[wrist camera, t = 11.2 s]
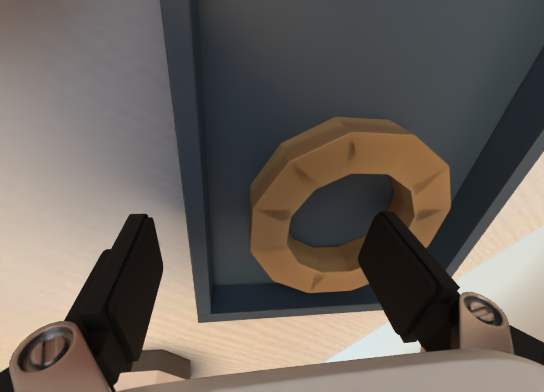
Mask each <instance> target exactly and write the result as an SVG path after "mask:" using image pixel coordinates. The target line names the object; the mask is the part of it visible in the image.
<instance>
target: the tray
mask: <svg viewBox="0 0 544 392" xmlns="http://www.w3.org/2000/svg"><path fill="white" fill-rule="evenodd" d="M160 5H161V13H162V22H163V30H164V38H165V47H166V55H167V64H168V72H169V80H170V89H171V97H172V105H173V114H174V122H175V130H176V139H177V147H178V156H179V164H180V172H181V181H182V189H183V197H184V206H185V214H186V223H187V231H188V239H189V248H190V256H191V264H192V273H193V281H194V289H195V298H196V306H197V314H198V322H199V323H203V322H218V321H232V320H246V319H261V318H275V317H290V316H304V315H318V314H333V313H347V312H362V311H376V310H383V308H382V307H381V305H380V303H379V301H378V299H377V297H376V295H375V293H374V292H373V290H372V288H371V286H370V284H367V285H364V286H362V287H359V288H357V289H354V290H351V291H350V290H349V291H335V292H318V293H307V292H304V291H301V290H298V289H295V288H292V287H290V286H287V285H284V284H281V283H278V282H275V281H273V280H272V279H271V278H270V276H269V275H268V274H267V273H266V271H265V270H264V269H263V267H262V266H261V265H260V263H259V262H258V261H257V260H256V258H255V257H254V256H253V254H252V253H251V252H250V246H249V232H248V215H249V195H250V185H251V183H252V182H253V181H254V179H255V178H256V177H257V175H258V174H259V172H260V171H261V170H262V168H263V167H264V166H265V164H266V163H267V161H268V160H269V159H270V157H271V156H272V155H273V153H274V152H275V151H276V149H277V148H278V146H279V145H280V144H281V143H282V142H284V141H286V140H288V139H291V138H293V137H295V136H297V135H299V134H301V133H303V132H305V131H307V130H309V129H311V128H313V127H315V126H317V125H319V124H321V123H323V122H325V121H327V120H329V119H332V118H334V117H351V118H368V119H386V120H391V121H392V122H394V123H396V124H397V125H399V126H401V127H403V128H404V129H406V130H408V131H409V132H411V133H413V134H414V135H416V136H417V137H418V138H419V139H420V140H421V141H422V142H423V143H425V144H426V145H427V146H428V147H429V148H430V149H431V150H432V151H433V152H435V153H436V154H437V155H438V156H439V157H440V158H441V159H442V160H444V161H445V162H446V163H447V164H448V165H449V167H450V193H451V208H450V210H449V212H448V214H447V215H446V217H445V219H444V220H443V222H442V224H441V226H440V227H439V229H438V231H437V232H436V234H435V236H434V237H433V239H432V241H431V242H430V244H429V246H428V247H427V248H426V249H427V250H428V251H429V253H430V254H431V255H432V256H433V257H434V258H435V259H436V261H437V262H438V263H439V264H440V265H441V266H442V267H443V269H444V270H445V271H446V272H447V273H448V274H449V275H450V277H452V276H453V274H454V273H455V272H456V270H457V269H458V268H459V266H460V265H461V264H462V262H463V261H464V259H465V258H466V257H467V255H468V254H469V253H470V251H471V250H472V249H473V247H474V246H475V244H476V243H477V242H478V240H479V239H480V238H481V236H482V235H483V234H484V232H485V231H486V229H487V228H488V227H489V225H490V224H491V223H492V221H493V220H494V218H495V217H496V216H497V214H498V213H499V212H500V210H501V209H502V208H503V206H504V205H505V203H506V202H507V201H508V199H509V198H510V197H511V195H512V194H513V193H514V191H515V190H516V188H517V187H518V186H519V184H520V183H521V182H522V180H523V179H524V177H525V176H526V175H527V173H528V172H529V171H530V169H531V168H532V167H533V165H534V164H535V162H536V161H537V160H538V158H539V157H540V156H541V154H542V153H543V152H544V0H160ZM393 196H394V192H393V187H392V183H391V178H390V176H389V175H388V174H349V175H347V176H345V177H343V178H340V179H338V180H336V181H334V182H331V183H329V184H327V185H325V186H323V187H320V188H318V189H316V190H314V192H313V193H312V194H311V195H310V196H309V197H308V198H307V200H306V201H305V202H304V203H303V204H302V205H301V206H300V208H299V209H298V210H297V211H296V212H295V213H294V214H293V216H292V217H291V221H290V227H289V234H290V236H291V237H292V238H293V239H295V240H297V241H300V242H302V243H304V244H306V245H308V246H311V247H313V248H314V247H339V246H341V245H343V244H346V243H348V242H351V241H353V240H356V239H358V238H361V237H363V236H365V235H366V234H367V233H368V230H369V228H370V225H371V223H372V220H373V218H374V216H375V215H377V214H378V213H379V212H381V211H387V210H388V207H389V205H390V203H391V200H392V198H393Z"/></svg>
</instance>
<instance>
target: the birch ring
mask: <svg viewBox="0 0 544 392" xmlns="http://www.w3.org/2000/svg"><path fill="white" fill-rule="evenodd" d="M349 174H388V175H389V176H390V178H391V183H392V187H393V192H394V196H393V198H392V200H391V203H390V205H389V207H388V210H387V211H392V212H394V213H396V215H397V216H398V217H399V218H400V219H401V220H402V221H403V223H404V224H405V225H406V226H407V227H408V228H409V230H410V231H411V232H412V233H413V234H414V235H415V236H416V238H417V239H418V240H419V241H420V242H421V243H422V244H423V246H424V247H425V248H427V247H428V246H429V244H430V242H431V241H432V239H433V237H434V236H435V234H436V232H437V231H438V229H439V227H440V226H441V224H442V222H443V220H444V219H445V217H446V215H447V214H448V212H449V210H450V208H451V193H450V167H449V165H448V164H447V163H446V162H445V161H444V160H442V159H441V158H440V157H439V156H438V155H437V154H436V153H435V152H433V151H432V150H431V149H430V148H429V147H428V146H427V145H426V144H425V143H423V142H422V141H421V140H420V139H419V138H418V137H417V136H416V135H414V134H413V133H411V132H409V131H408V130H406V129H404V128H403V127H401V126H399V125H397V124H396V123H394V122H392V121H391V120H386V119H368V118H351V117H334V118H332V119H329V120H327V121H325V122H323V123H321V124H319V125H317V126H315V127H313V128H311V129H309V130H307V131H305V132H303V133H301V134H299V135H297V136H295V137H293V138H291V139H288V140H286V141H284V142H282V143H281V144H280V145H279V146H278V148H277V149H276V151H275V152H274V153H273V155H272V156H271V157H270V159H269V160H268V161H267V163H266V164H265V166H264V167H263V168H262V170H261V171H260V172H259V174H258V175H257V177H256V178H255V179H254V181H253V182H252V183H251V185H250V195H249V215H248V232H249V246H250V252H251V253H252V254H253V256H254V257H255V258H256V260H257V261H258V262H259V263H260V265H261V266H262V267H263V269H264V270H265V271H266V273H267V274H268V275H269V276H270V278H271V279H272V280H273V281H275V282H278V283H281V284H284V285H287V286H290V287H292V288H295V289H298V290H301V291H304V292H307V293H318V292H335V291H349V290H350V291H351V290H354V289H357V288H359V287H362V286H364V285H367V284H369V282H368V280H367V278H366V277H365V275H364V273H363V271H362V269H361V267H360V265H359V263H358V255H359V252H360V250H361V248H362V245H363V243H364V240H365V238H366V235H367V234H366V235H365V236H363V237H361V238H358V239H356V240H353V241H351V242H348V243H346V244H343V245H341V246H339V247H314V248H313V247H311V246H308V245H306V244H304V243H302V242H300V241H297V240H295V239H293V238H292V237H291V236H290V234H289V227H290V221H291V217H292V216H293V214H294V213H295V212H296V211H297V210H298V209H299V208H300V206H301V205H302V204H303V203H304V202H305V201H306V200H307V198H308V197H309V196H310V195H311V194H312V193H313V192H314V190H316V189H318V188H320V187H323V186H325V185H327V184H329V183H331V182H334V181H336V180H338V179H340V178H343V177H345V176H347V175H349Z"/></svg>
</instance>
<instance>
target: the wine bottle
mask: <svg viewBox="0 0 544 392" xmlns="http://www.w3.org/2000/svg"><path fill="white" fill-rule="evenodd" d="M188 379H190V363H189V360H186V359H184V358H181V357H179V356H176V355H173V354H171V353H168V352H166V351H163V350H156V351H142V352H141V355H140V358H139V360H138V361H135V362H133V365H132V369H131V372H127V373H120V376H119V379H118V382H117V383H116V384H115V385H114V388H115V390H116V392H117V391H121V390H125V389H130V388H136V387H141V386H146V385H152V384H159V383H166V382H174V381H181V380H188Z"/></svg>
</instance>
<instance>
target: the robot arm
mask: <svg viewBox="0 0 544 392" xmlns="http://www.w3.org/2000/svg"><path fill="white" fill-rule="evenodd" d="M358 263H359V265H360V267H361V269H362V271H363V273H364V275H365V277H366V278H367V280H368V282H369V284H370V286H371V288H372V290H373V292H374V293H375V295H376V297H377V299H378V301H379V303H380V305H381V307H382V308H383V310H384V312H385V314H386V316H387V318H388V320H389V322H390V323H391V325H392V327H393V329H394V331H395V332H396V333H397V334H398V335H400V337H401V338H402V340H403V342H404V343H408V342H416V341H417V340H418V341H419V343H420V344H421V351H420V353H413V354H402V355H393V356H384V357H375V358H366V359H357V360H349V361H339V362H330V363H321V364H313V365H304V366H295V367H287V368H278V369H269V370H261V371H253V372H244V373H236V374H228V375H219V376H211V377H203V378H195V379H188V380H181V381H174V382H166V383H159V384H152V385H146V386H141V387H136V388H130V389H125V390H121V391H117V392H544V343H543V342H542V341H539V340H537V339H536V338H534V337H532V336H530V335H528V334H526V333H524V332H522V331H520V330H518V329H516V328H514V327H512V326H511V325H509V322H508V320H507V317H506V315H505V314H504V312H503V311H502V310H501V309H500V308H499V307H498V306H497V305H496V304H495V303H494V302H492V301H491V300H489V299H488V298H486V297H484V296H482V295H480V294H477V293H473V292H465V293H462V294H461V295H460V294H459V293H458V292H457V291H458V289H459V288H460V287H459V286H458V285H457V284H456V282H455V281H454V280H453V279H452V278H451V277H450V275H449V274H448V273H447V272H446V271H445V270H444V269H443V267H442V266H441V265H440V264H439V263H438V262H437V261H436V259H435V258H434V257H433V256H432V255H431V254H430V253H429V251H428V250H427V249H426V248H425V247H424V246H423V244H422V243H421V242H420V241H419V240H418V239H417V238H416V236H415V235H414V234H413V233H412V232H411V231H410V230H409V228H408V227H407V226H406V225H405V224H404V223H403V221H402V220H401V219H400V218H399V217H398V216H397V215H396V213H394V212H392V211H381V212H379V213H378V214H377V215H375V216H374V218H373V220H372V223H371V225H370V228H369V230H368V233H367V235H366V238H365V240H364V243H363V245H362V248H361V250H360V252H359V255H358ZM162 273H163V262H162V257H161V252H160V248H159V243H158V238H157V234H156V229H155V224H154V220H153V218H149V217H148V215H147V214H130V215H129V216H128V218H127V220H126V222H125V224H124V226H123V228H122V230H121V231H120V233H119V235H118V237H117V239H116V241H115V243H114V245H113V247H112V249H106V250H104V251H103V252H102V254H101V255H100V257H99V259H98V261H97V262H96V264H95V266H94V268H93V270H92V271H91V273H90V275H89V277H88V279H87V280H86V282H85V284H84V286H83V288H82V289H81V291H80V293H79V295H78V297H77V298H76V300H75V302H74V304H73V306H72V307H71V309H70V311H69V313H68V315H67V316H66V318H65V320H64V321H59V322H55V323H51V324H48V325H46V326H44V327H42V328H39V329H38V330H36V331H35V332H33V333H32V334H30V335H29V336H28V337H27V338H26V339H25V340H24V341H22V342H21V343H20V345H19V346H18V347H17V349H16V350H15V351H14V353H13V355H12V357H11V360H10V362H9V367H8V368H6V369H5V370H3V371H2V372H0V392H116V390H115V388H114V385H115V384H116V383H117V382H118V379H119V376H120V373H127V372H131V369H132V365H133V362H135V361H138V360H139V358H140V355H141V352H142V348H143V344H144V341H145V337H146V333H147V329H148V326H149V322H150V318H151V314H152V311H153V307H154V303H155V300H156V296H157V292H158V288H159V285H160V281H161V277H162Z"/></svg>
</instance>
